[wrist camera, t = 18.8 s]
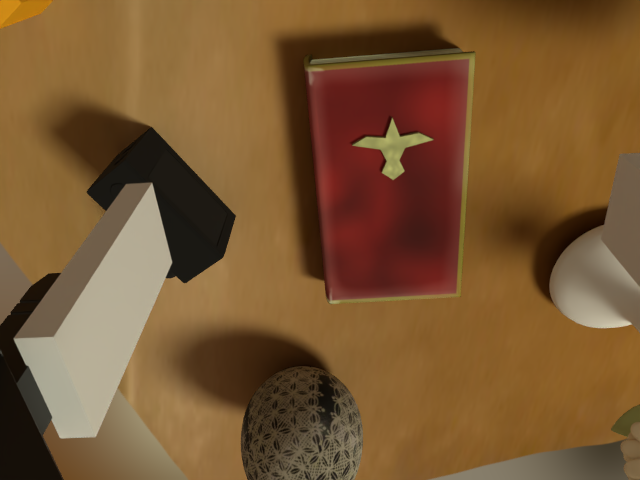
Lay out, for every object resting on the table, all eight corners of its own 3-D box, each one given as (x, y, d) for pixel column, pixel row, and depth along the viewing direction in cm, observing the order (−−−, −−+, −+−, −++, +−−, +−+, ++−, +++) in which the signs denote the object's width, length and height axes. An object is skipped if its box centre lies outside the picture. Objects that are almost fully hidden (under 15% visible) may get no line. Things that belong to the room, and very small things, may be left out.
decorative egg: (234, 398, 61) (209, 531, 48) (276, 324, 55) (260, 451, 42) (330, 430, 63) (330, 564, 50) (379, 363, 58) (393, 493, 45)
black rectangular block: (105, 162, 47) (72, 200, 41) (150, 125, 45) (123, 159, 39) (191, 246, 51) (173, 292, 45) (236, 215, 49) (223, 258, 43)
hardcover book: (325, 278, 53) (325, 306, 49) (304, 53, 42) (302, 67, 38) (452, 271, 52) (461, 298, 49) (463, 40, 41) (476, 53, 38)
